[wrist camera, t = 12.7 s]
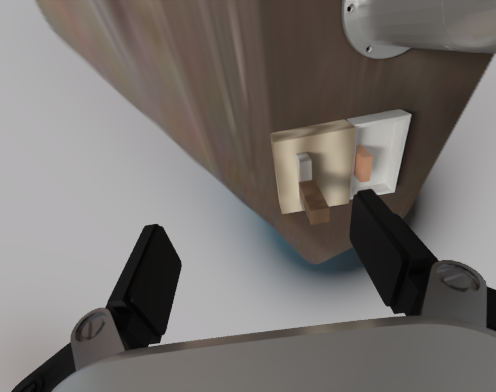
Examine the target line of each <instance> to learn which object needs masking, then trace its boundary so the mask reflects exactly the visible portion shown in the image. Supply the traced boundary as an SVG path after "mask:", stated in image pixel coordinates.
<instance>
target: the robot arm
mask: <svg viewBox="0 0 496 392" xmlns="http://www.w3.org/2000/svg"><path fill="white" fill-rule="evenodd" d="M348 6H349V7H350V10H349V11H347V8H348ZM341 14H342V25H343V29H344V33H345V36H346V38H347V40H348V42H349V44H350V45H351V46H352V47H353V48H354V50H356V51H357V52H358V53H360V54H361V55H364V56H366V57H369V58H374V59H386V58H391V57H394V56H397V55H399V54H402V53H404V52H405V51H407V50H409V49H410V48H423V49H436V50H448V51H461V52H473V53H496V0H343V1H342V13H341ZM367 47H368V50H367V51H366V49H367ZM350 241H351V243H352V245H353V247H354V248H355V250H356V252H357V254H358V256H359V258H360V259H361V261H362V263H363V265H364V267H365V269H366V271H367V273H368V274H369V276H370V278H371V280H372V282H373V284H374V285H375V287H376V289H377V291H378V293H379V295H380V297H381V298H382V300H383V302H384V304H385V305H386V306H390V307H391V309H392V311H393V313H394V314H398V313H405V315H406V316H402V317H388V318H379V319H368V320H358V321H350V322H341V323H333V324H324V325H316V326H308V327H300V328H291V329H283V330H275V331H266V332H258V333H250V334H242V335H234V336H226V337H218V338H211V339H203V340H195V341H187V342H179V343H172V344H165V345H159V346H152V347H148V345H149V344H156V343H160V341H161V337H162V335H164V334H165V332H166V329H167V324H168V320H169V316H170V312H171V308H172V304H173V300H174V296H175V292H176V287H177V283H178V279H179V275H180V271H181V267H182V265H181V260H180V258H179V256H178V254H177V253H176V251H175V249H174V247H173V245H172V243H171V241H170V239H169V238H168V236H167V234H166V232H165V230H164V228H163V227H162V226H159V225H158V224H153V225H147V226H145V227H144V228H143V230H142V233H141V234H140V237H139V239H138V241H137V243H136V245H135V247H134V249H133V251H132V253H131V255H130V257H129V259H128V261H127V263H126V265H125V267H124V269H123V271H122V273H121V275H120V278H119V280H118V282H117V284H116V286H115V288H114V290H113V292H112V294H111V296H110V298H109V300H108V303H107V305H106V307H105V308H98V309H95V310H92V311H91V312H89V313H87V314H86V315H85V316H84V317H82V318H81V319H80V320H79V322H78V323H77V324H76V326H75V327H74V329H73V331H72V334H71V342H70V343H69V344H67V345H66V346H65V347H64V348H62V349H61V350H60V351H59V352H57V353H56V354H55V355H54V356H52V357H51V358H50V359H49V360H47V361H46V362H45V363H44V364H42V365H41V366H40V367H39V368H37V369H36V370H35V371H34V372H32V373H31V374H30V375H28V376H27V377H26V378H25V379H24V380H22V381H21V382H20V383H19V384H18V385H17V386H16V387H15V388H14V389H13V390H12V391H11V392H496V290H495V289H492V288H489V287H487V286H486V281H485V280H484V279H483V277H482V276H481V275H480V274H479V273H478V272H477V271H476V270H474V269H472V268H471V267H469V266H467V265H465V264H462V263H460V262H456V261H452V260H442V261H438V260H437V258H436V257H435V256H434V255H433V254H432V253H431V251H430V250H429V249H428V248H427V247H426V246H425V245H424V243H423V242H422V241H421V240H420V239H419V238H418V237H417V235H416V234H415V233H414V232H413V231H412V230H411V229H410V228H409V227H408V225H407V224H406V223H405V222H404V221H403V220H402V219H401V217H400V216H398V215H397V214H393V212H392V211H391V210H390V209H389V208H388V207H387V205H386V204H385V203H384V202H383V201H382V200H381V199H380V197H379V196H378V195H377V194H376V193H375V192H374V190H372V189H365V190H359V191H358V192H357V194H354V196H353V204H352V214H351V224H350Z"/></svg>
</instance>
